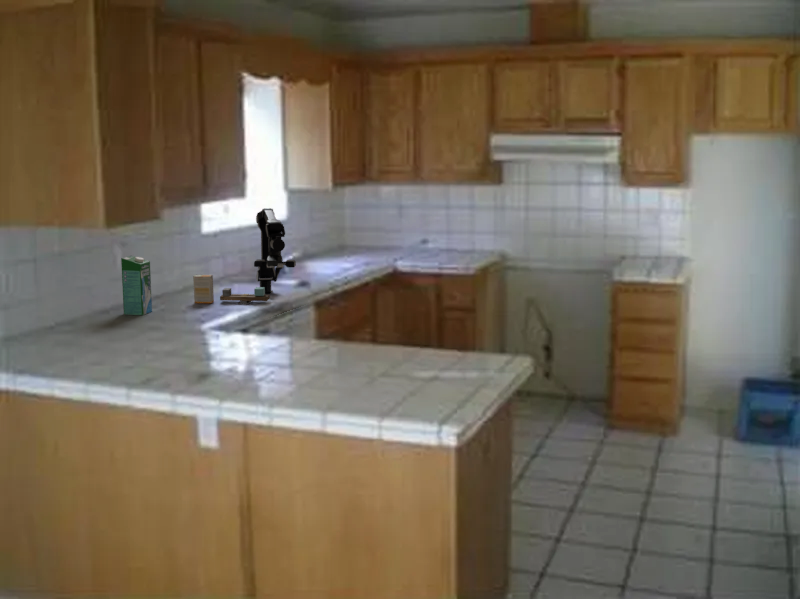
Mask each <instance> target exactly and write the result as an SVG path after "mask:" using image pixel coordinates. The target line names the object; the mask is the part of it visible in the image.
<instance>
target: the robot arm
mask: <svg viewBox="0 0 800 599" xmlns="http://www.w3.org/2000/svg"><path fill="white" fill-rule="evenodd" d="M255 221H256V224H257V227H258V228H259V231H260V249H261V250H260V256H261V257H260V258H261V259H256V260H255V261H254V263H253V266H254V268H257V269H256V276H255V279H256V281H257V282H259V287H265V294H264V295H270V293H271V294H272V293H273V292H274V291H273V290H272V281H273V282H275V283H276V282H277V281H278V278H279V275H280V273H281V270H283V268H284V267H286V268H295V267H296V266H297V264H296V263H297V262H296V260H295V259H286V261H283V256H282V251H283V250H284V249H285V247H286V243H285V241H284V240H283V239H282V238H285V236H286V231H285V226H284V224H283V223H282V222H281V220H279V219H277V218H276V215H275V211H274V208H270V207H269V208H262V210H261V211H259V212H257V213H256V217H255Z"/></svg>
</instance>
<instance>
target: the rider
mask: <svg viewBox="0 0 800 599" xmlns="http://www.w3.org/2000/svg"><path fill="white" fill-rule="evenodd" d="M264 295H266V294H265V287H260V286H256V287H255V288H254V296H264Z"/></svg>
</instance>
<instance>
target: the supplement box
mask: <svg viewBox="0 0 800 599" xmlns="http://www.w3.org/2000/svg"><path fill="white" fill-rule="evenodd" d="M192 277H193V280H192V281H193V301H194V303H193V304H208V305H209V304H212V303H214V302H215V301H214V300H215V296H214V275H213V274H195V275H193V276H192Z"/></svg>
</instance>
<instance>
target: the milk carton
mask: <svg viewBox="0 0 800 599" xmlns="http://www.w3.org/2000/svg"><path fill="white" fill-rule="evenodd" d="M120 262H121V283H122V301H123V304H122V305H123V306H122V307H123V315H127V316H128V315H129V316H130V315H131V316H144V315H146V314H149V313H151V312H153V305H152V304H153V302H152V280H151V277H152V276H151V261H149V260H147V259H145V258H144V257H141V256H134V255H128V256H125V257H121V259H120Z"/></svg>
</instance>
